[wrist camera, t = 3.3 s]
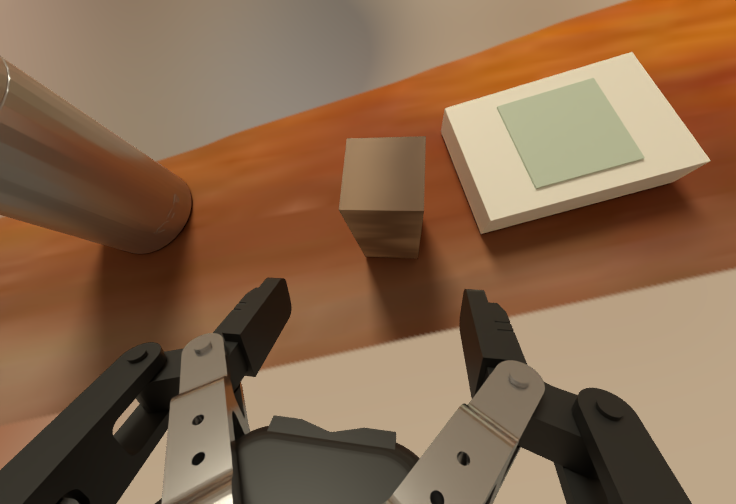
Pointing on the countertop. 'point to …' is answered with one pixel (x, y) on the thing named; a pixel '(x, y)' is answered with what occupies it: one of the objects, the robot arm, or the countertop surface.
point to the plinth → (567, 143)
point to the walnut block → (384, 194)
